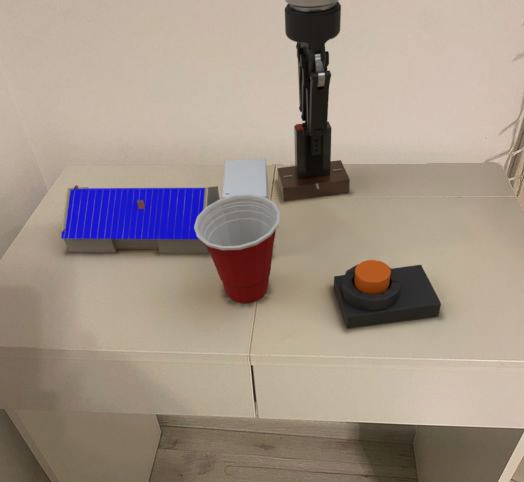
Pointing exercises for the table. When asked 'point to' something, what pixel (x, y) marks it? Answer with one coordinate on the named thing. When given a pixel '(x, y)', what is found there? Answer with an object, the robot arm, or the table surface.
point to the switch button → (372, 277)
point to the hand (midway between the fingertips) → (312, 165)
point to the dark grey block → (301, 153)
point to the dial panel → (313, 183)
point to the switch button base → (387, 298)
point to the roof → (134, 218)
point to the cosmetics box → (245, 177)
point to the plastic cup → (240, 243)
